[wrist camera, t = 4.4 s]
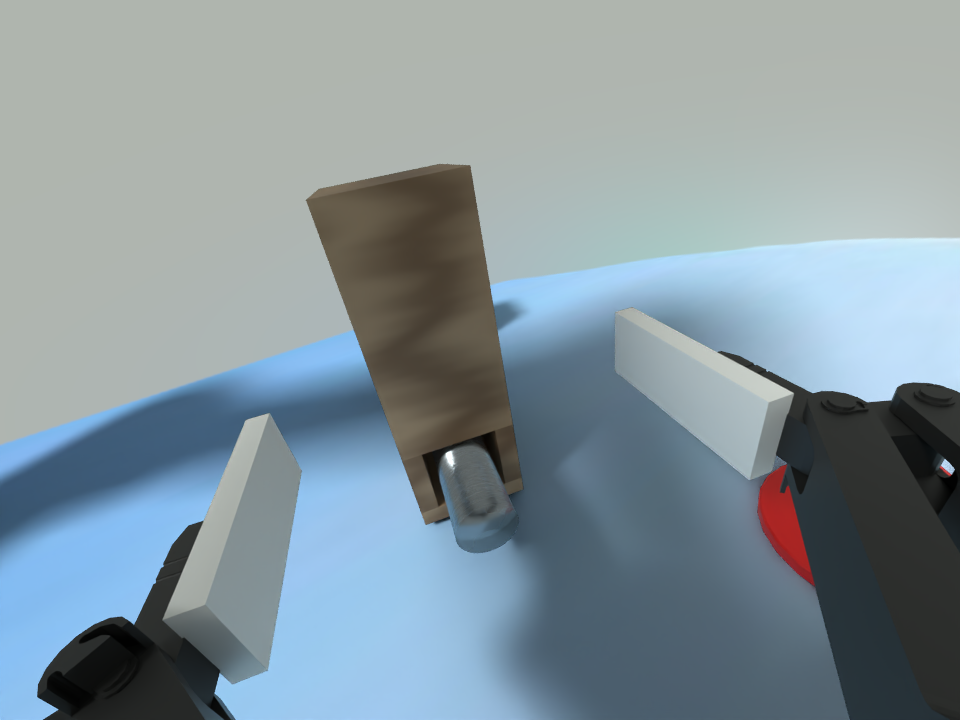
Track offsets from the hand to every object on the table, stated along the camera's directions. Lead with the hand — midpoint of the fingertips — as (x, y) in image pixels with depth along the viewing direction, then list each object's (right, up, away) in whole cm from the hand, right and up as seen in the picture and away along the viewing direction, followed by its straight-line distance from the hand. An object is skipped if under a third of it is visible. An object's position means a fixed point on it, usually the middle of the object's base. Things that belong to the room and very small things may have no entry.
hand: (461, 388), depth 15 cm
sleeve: (0, -7, +11) cm, 13 cm away
